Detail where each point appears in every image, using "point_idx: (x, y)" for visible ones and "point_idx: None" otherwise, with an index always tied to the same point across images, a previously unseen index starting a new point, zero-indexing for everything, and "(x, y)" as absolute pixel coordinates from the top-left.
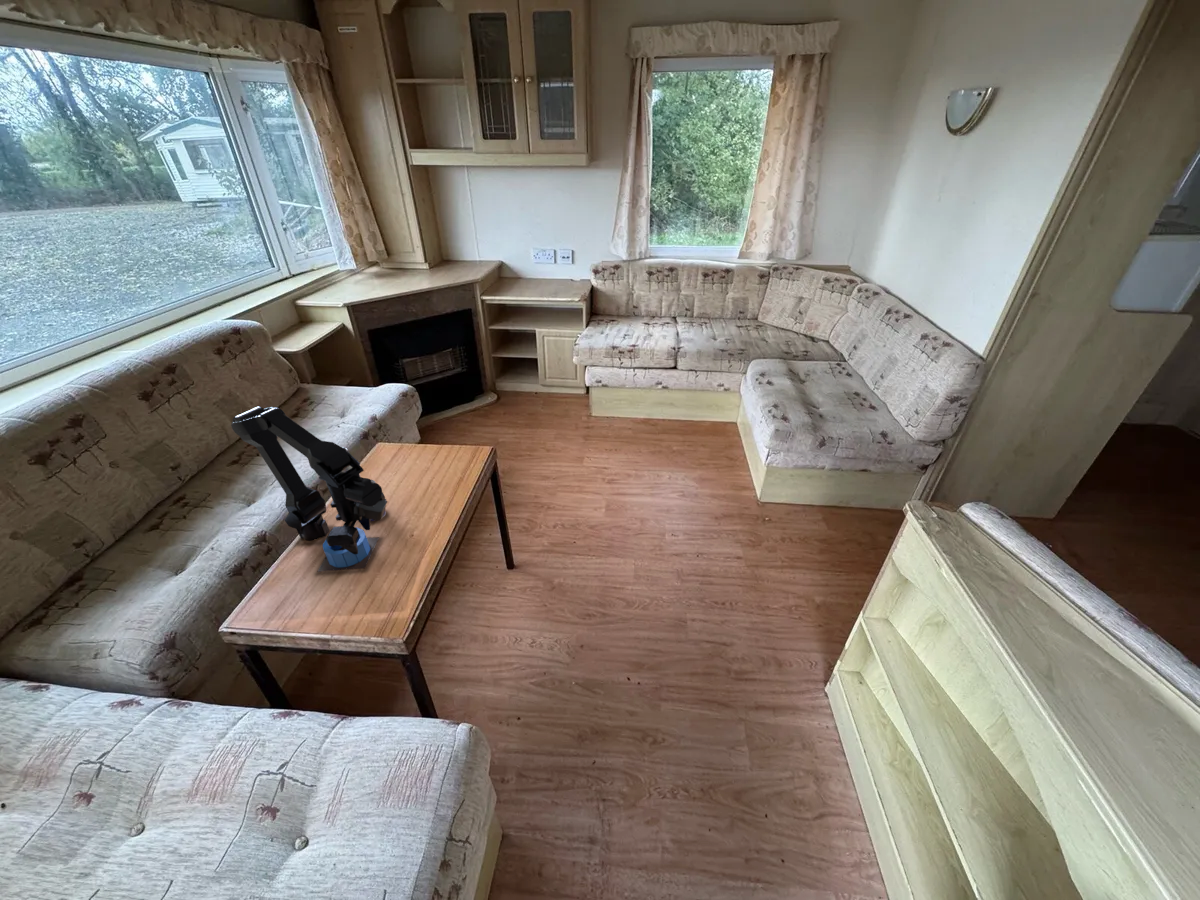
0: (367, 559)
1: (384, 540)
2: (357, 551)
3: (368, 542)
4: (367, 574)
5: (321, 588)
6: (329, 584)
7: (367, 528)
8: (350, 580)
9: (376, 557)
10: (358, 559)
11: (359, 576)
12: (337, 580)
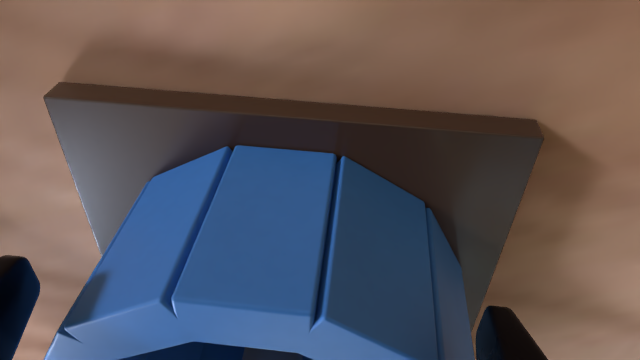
0: (397, 139)
1: (67, 30)
2: (523, 343)
3: (141, 178)
4: (609, 88)
5: (609, 352)
6: (590, 323)
7: (14, 294)
8: (621, 213)
9: (344, 54)
10: (425, 225)
11: (602, 155)
12: (568, 290)
